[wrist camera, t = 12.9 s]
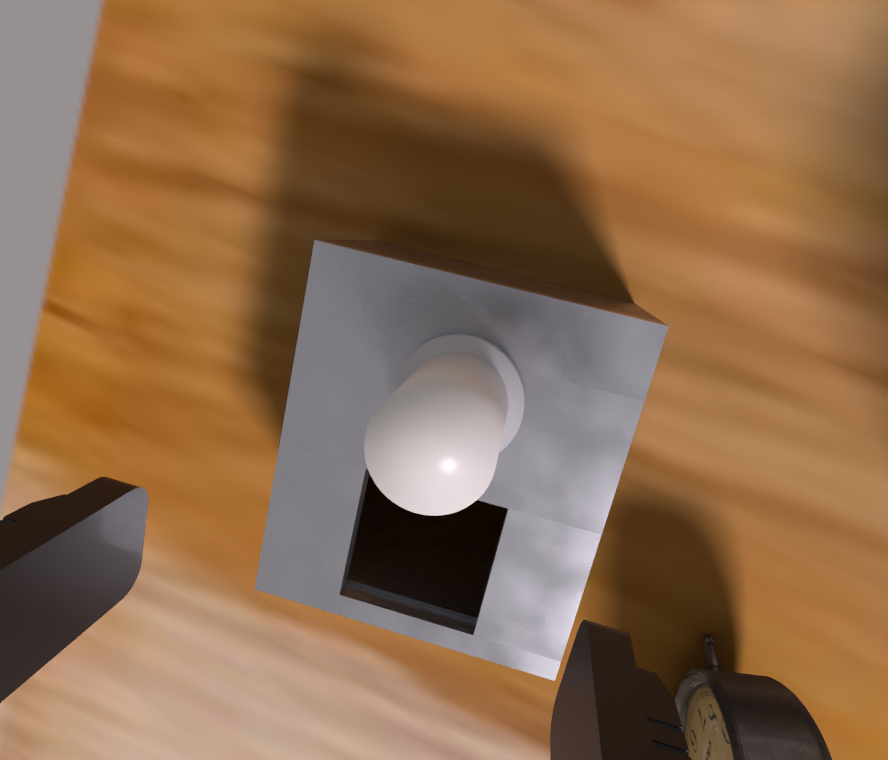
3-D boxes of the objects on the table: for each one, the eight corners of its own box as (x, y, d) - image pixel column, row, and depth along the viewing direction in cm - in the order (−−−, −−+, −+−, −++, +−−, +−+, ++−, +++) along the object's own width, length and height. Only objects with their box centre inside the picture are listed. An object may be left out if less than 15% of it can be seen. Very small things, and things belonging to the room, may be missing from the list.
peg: (427, 309, 28) (362, 347, 18) (540, 338, 28) (538, 392, 17) (403, 416, 29) (330, 507, 19) (511, 445, 29) (493, 554, 19)
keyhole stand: (374, 240, 33) (314, 239, 24) (634, 303, 32) (668, 326, 23) (322, 508, 37) (254, 589, 28) (552, 574, 36) (554, 680, 27)
